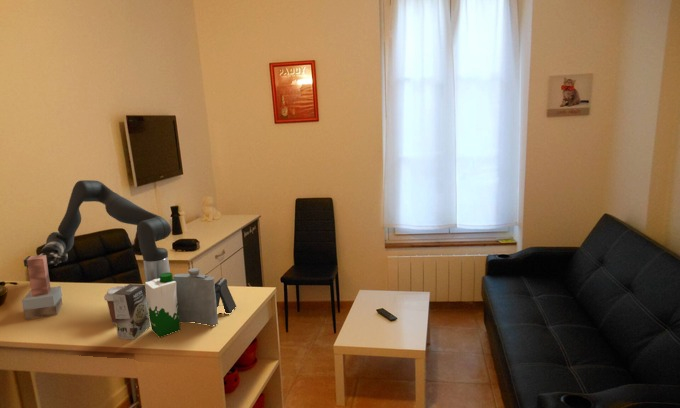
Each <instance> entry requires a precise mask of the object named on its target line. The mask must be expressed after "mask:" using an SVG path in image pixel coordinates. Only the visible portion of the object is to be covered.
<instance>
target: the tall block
mask: <svg viewBox="0 0 680 408" xmlns="http://www.w3.org/2000/svg"><path fill="white" fill-rule="evenodd" d="M29 256H30V257H29V259H28V260H27V264H28V268H27V271H28V277H29V285H30V291H31V292H32V296H37V295H44V294H48V293H49V291H50V290H51V288H50V287H51V281H50V275H49V267H48V266H49V265H48V264H47V258H46V255H40V256H38V255H29Z"/></svg>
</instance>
